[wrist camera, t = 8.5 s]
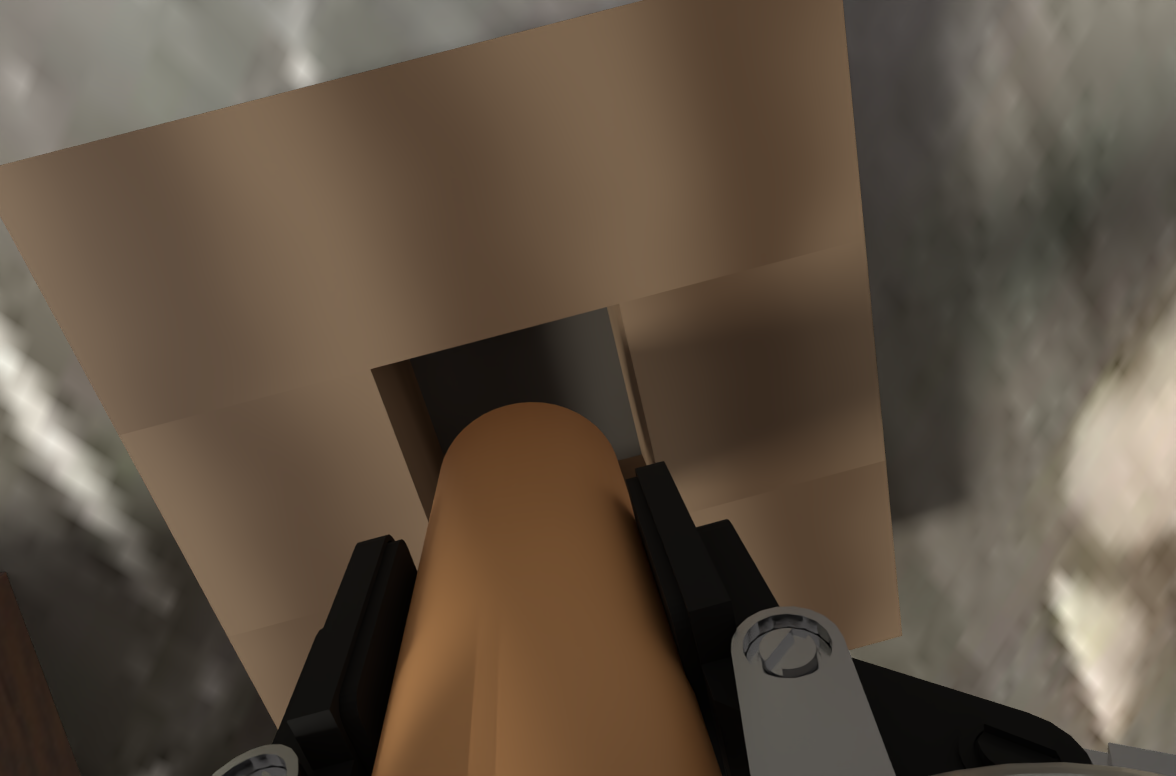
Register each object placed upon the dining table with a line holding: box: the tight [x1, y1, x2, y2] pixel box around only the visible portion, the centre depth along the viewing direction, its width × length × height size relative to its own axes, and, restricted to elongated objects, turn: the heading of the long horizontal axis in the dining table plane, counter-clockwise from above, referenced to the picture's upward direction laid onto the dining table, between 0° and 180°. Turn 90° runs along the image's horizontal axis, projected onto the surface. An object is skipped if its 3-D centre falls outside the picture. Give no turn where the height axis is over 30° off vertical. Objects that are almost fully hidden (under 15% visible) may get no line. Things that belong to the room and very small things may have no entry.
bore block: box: [0, 0, 902, 729], centre depth 19 cm, size 18×18×5 cm
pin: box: [372, 402, 722, 776], centre depth 9 cm, size 4×4×12 cm
